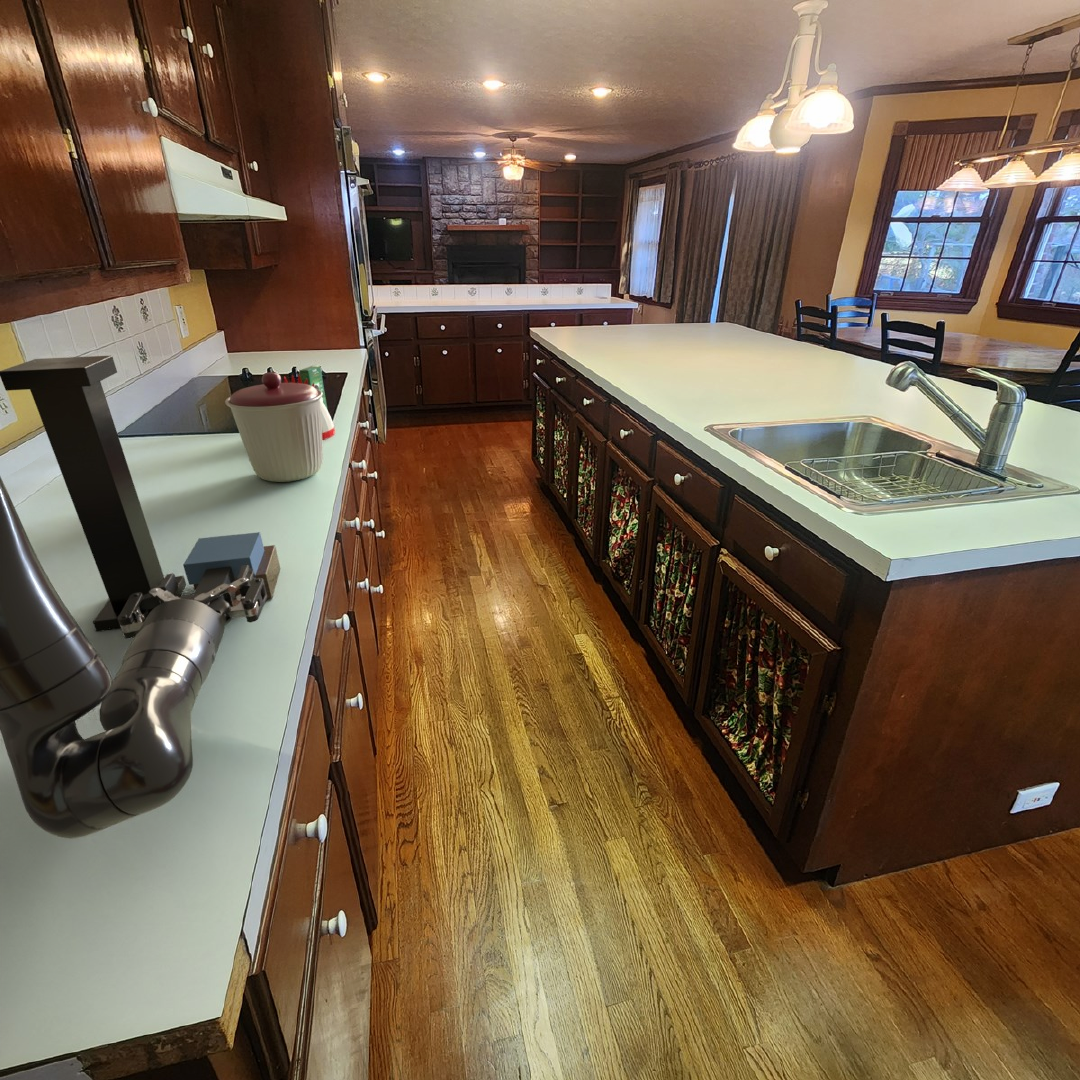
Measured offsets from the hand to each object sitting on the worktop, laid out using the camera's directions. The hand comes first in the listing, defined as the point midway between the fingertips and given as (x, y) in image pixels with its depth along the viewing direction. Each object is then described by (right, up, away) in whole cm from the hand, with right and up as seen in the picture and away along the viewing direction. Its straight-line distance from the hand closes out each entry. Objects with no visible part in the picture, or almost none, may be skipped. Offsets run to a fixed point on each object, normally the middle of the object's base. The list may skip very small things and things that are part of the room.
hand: (210, 575), depth 76 cm
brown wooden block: (-1, -2, +10) cm, 10 cm away
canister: (-12, +18, +52) cm, 57 cm away
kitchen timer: (-18, +31, +79) cm, 86 cm away
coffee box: (-22, +40, +97) cm, 107 cm away
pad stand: (-12, -5, +6) cm, 14 cm away
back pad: (0, -1, +3) cm, 3 cm away
